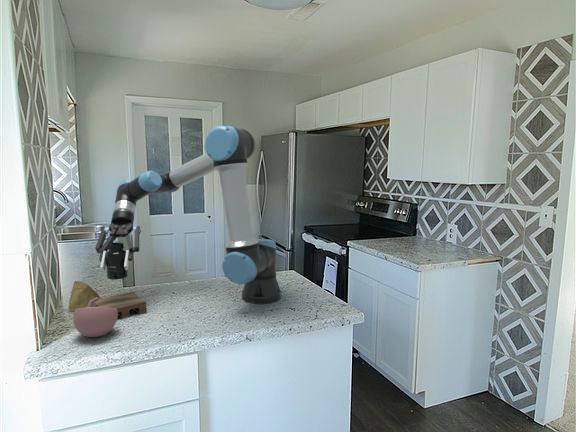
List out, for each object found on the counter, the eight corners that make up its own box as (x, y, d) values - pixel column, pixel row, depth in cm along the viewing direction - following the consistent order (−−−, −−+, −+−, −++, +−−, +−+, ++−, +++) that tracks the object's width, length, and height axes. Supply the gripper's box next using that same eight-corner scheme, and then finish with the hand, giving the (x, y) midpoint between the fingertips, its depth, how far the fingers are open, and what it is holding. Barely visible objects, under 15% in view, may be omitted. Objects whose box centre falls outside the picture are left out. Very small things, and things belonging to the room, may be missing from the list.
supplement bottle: (107, 281, 129) (104, 246, 127) (106, 275, 135) (104, 242, 133) (129, 278, 132) (127, 244, 130) (127, 273, 138) (125, 240, 136)
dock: (146, 312, 134) (146, 301, 133) (103, 323, 125) (103, 311, 124) (133, 301, 144) (132, 291, 144) (93, 310, 136) (92, 300, 135)
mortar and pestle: (123, 325, 123) (121, 291, 121) (112, 342, 111) (110, 304, 110) (83, 328, 121) (80, 293, 119) (68, 345, 109) (65, 307, 108)
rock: (107, 294, 146) (79, 292, 145) (103, 281, 140) (74, 278, 139) (97, 319, 138) (68, 317, 137) (93, 306, 132) (62, 304, 131)
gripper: (152, 220, 148) (146, 272, 134) (98, 222, 144) (86, 275, 131) (149, 208, 142) (142, 261, 128) (92, 209, 139) (79, 264, 125)
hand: (114, 268), depth 129 cm, fingers closed on supplement bottle, 7 cm apart
